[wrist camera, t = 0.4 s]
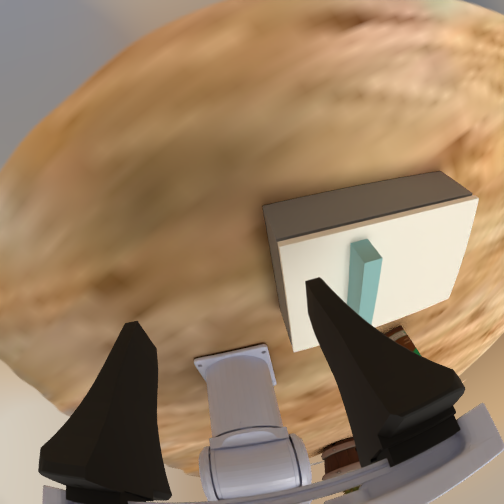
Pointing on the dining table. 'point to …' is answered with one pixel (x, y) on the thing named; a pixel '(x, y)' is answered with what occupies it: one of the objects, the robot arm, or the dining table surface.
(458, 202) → the lid
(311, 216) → the grey sliding-lid box
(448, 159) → the dining table surface
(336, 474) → the flowerpot
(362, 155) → the dining table surface
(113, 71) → the dining table surface
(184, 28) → the dining table surface
